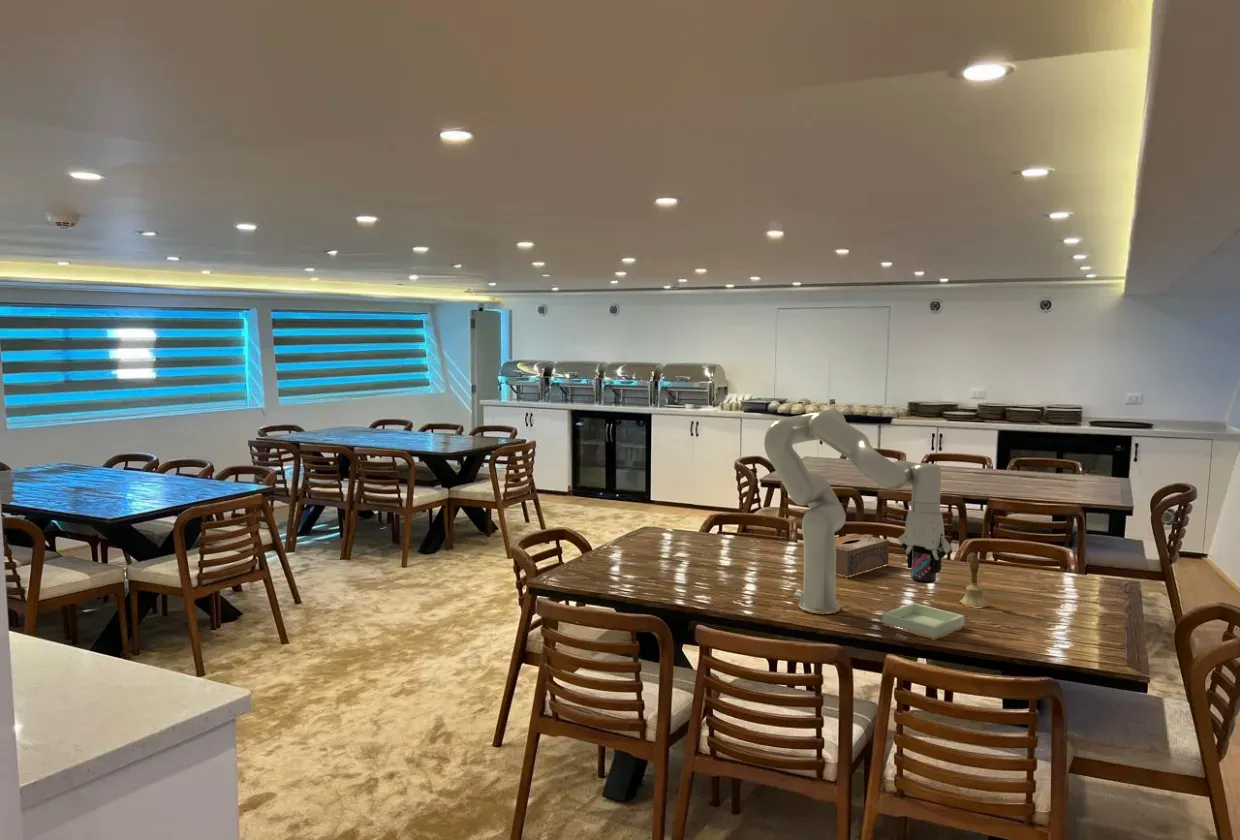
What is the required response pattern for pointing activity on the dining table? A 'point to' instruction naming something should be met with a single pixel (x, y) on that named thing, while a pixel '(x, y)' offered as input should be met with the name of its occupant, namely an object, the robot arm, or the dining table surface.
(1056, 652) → the dining table surface
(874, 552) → the tissue box cover
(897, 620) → the tray
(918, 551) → the supplement container
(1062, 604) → the dining table surface
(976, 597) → the hand bell
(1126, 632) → the dining table surface
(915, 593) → the dining table surface
